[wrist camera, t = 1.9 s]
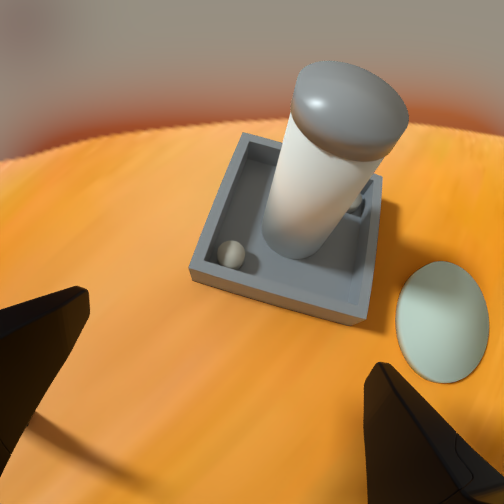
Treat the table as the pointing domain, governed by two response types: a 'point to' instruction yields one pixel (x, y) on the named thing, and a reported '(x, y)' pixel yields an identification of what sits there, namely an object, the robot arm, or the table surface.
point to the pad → (442, 322)
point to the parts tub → (274, 265)
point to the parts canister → (328, 153)
